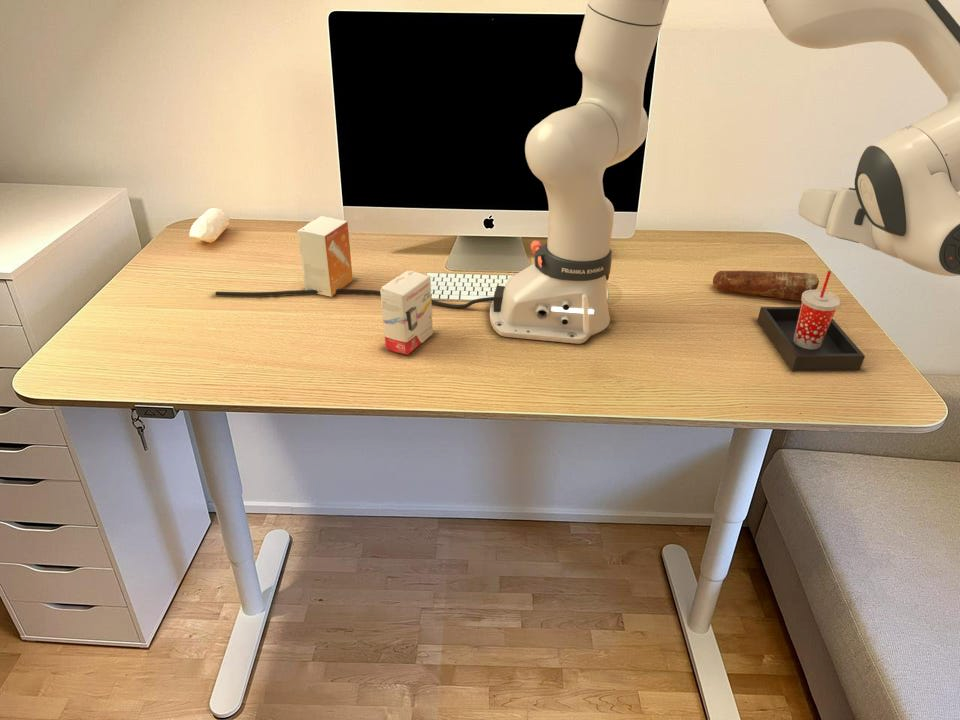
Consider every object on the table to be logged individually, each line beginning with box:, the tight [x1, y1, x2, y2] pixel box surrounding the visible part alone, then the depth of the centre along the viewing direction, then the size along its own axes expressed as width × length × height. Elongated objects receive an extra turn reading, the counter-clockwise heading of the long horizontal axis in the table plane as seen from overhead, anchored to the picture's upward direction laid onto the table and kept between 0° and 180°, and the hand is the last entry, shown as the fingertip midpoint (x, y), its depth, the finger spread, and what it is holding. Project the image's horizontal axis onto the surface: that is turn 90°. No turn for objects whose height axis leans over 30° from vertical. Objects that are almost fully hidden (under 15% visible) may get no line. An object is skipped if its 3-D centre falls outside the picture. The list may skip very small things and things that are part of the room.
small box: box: [297, 215, 354, 298], centre depth 139 cm, size 8×6×13 cm
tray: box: [756, 306, 866, 372], centre depth 126 cm, size 12×17×3 cm
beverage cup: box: [794, 270, 841, 349], centre depth 122 cm, size 6×6×14 cm
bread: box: [712, 270, 820, 302], centre depth 141 cm, size 6×19×6 cm, turn 74°
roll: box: [189, 207, 231, 244], centre depth 158 cm, size 6×12×6 cm, turn 176°
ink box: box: [379, 269, 434, 356], centre depth 123 cm, size 9×5×12 cm, turn 150°
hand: (851, 204), depth 108 cm, fingers open, 8 cm apart
